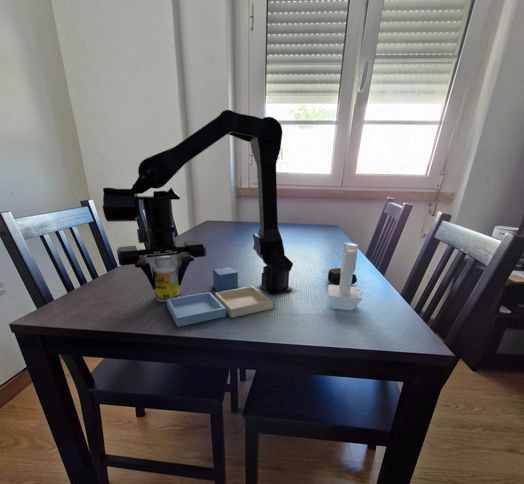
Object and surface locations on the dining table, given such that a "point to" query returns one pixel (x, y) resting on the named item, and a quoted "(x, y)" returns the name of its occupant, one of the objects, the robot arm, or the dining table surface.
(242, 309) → the cream tray
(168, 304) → the blue tray
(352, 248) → the white joystick
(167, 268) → the supplement bottle
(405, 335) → the dining table surface
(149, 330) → the dining table surface
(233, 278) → the blue block
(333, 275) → the tape measure
